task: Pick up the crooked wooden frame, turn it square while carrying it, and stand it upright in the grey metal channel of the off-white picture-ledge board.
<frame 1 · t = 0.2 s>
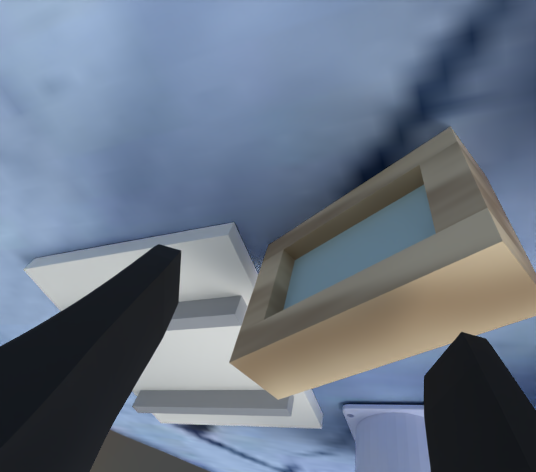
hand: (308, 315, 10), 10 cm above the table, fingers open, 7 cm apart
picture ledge: (190, 342, 29), on the table
wooden frame: (363, 214, 19), on the table
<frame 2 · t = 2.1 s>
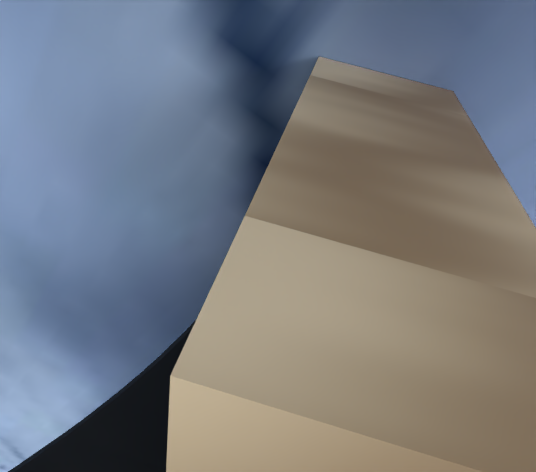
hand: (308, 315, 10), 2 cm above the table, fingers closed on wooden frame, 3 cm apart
wooden frame: (318, 256, 12), on the table, touching gripper
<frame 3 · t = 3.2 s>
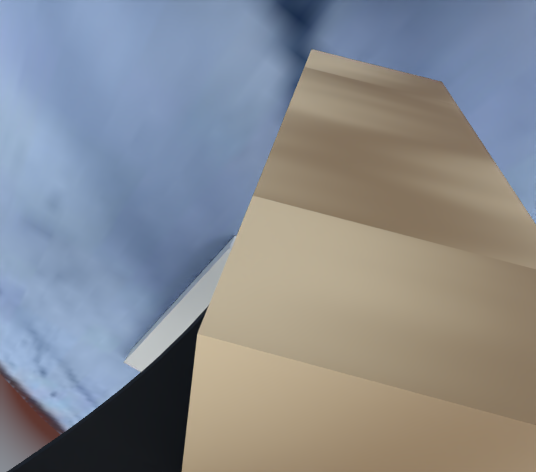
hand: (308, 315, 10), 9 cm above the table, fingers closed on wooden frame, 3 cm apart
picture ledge: (288, 374, 28), on the table
wooden frame: (312, 247, 12), point 7 cm above the table, touching gripper
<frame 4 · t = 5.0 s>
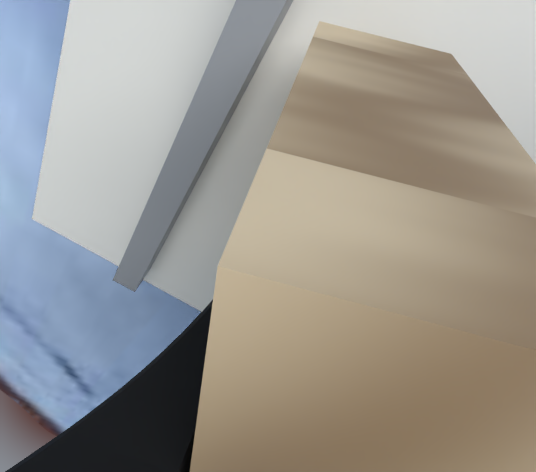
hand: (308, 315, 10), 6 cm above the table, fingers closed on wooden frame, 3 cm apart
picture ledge: (328, 200, 14), on the table
wooden frame: (318, 226, 12), point 3 cm above the table, touching gripper
when the fingers open (5 cm above the table, at t = 5.5 s): wooden frame stays where it is, resting on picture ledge.
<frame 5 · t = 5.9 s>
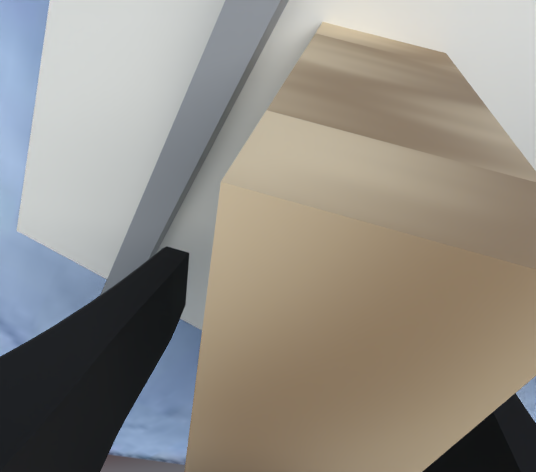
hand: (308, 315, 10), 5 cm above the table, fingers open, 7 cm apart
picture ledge: (325, 212, 14), on the table
wooden frame: (320, 219, 12), point 1 cm above the table, touching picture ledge
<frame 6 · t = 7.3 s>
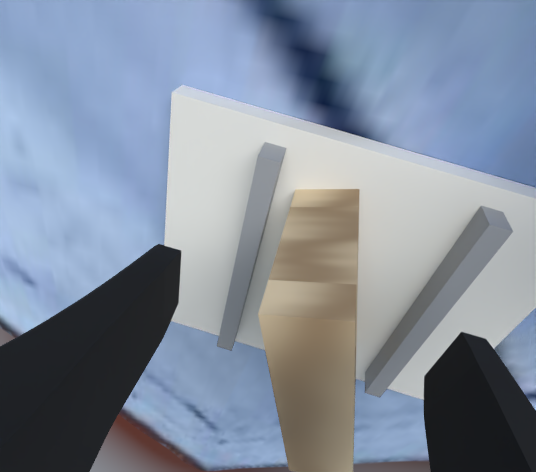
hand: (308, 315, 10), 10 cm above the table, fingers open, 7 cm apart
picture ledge: (334, 268, 22), on the table
wooden frame: (330, 276, 21), point 1 cm above the table, touching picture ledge
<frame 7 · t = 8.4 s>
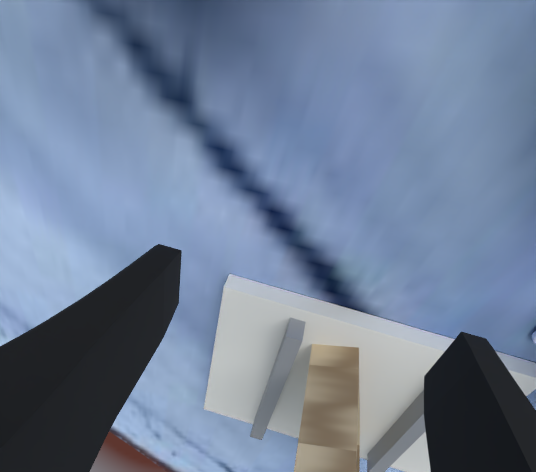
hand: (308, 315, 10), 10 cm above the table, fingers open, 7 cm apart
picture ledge: (341, 383, 29), on the table
wooden frame: (338, 393, 28), point 1 cm above the table, touching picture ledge
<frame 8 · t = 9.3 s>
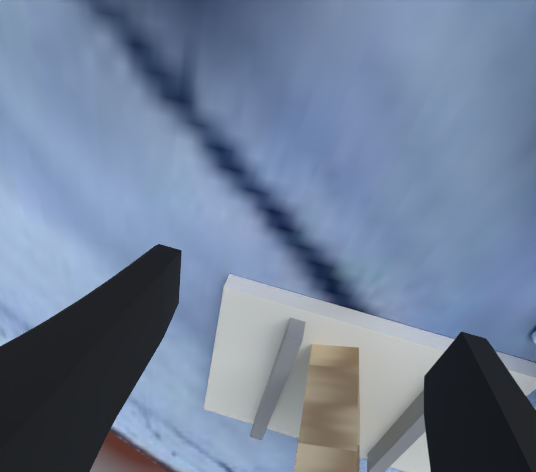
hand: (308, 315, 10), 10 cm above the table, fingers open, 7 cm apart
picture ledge: (341, 383, 29), on the table
wooden frame: (338, 393, 28), point 1 cm above the table, touching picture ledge
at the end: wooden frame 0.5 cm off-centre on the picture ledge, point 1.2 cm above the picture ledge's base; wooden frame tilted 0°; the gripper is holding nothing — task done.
